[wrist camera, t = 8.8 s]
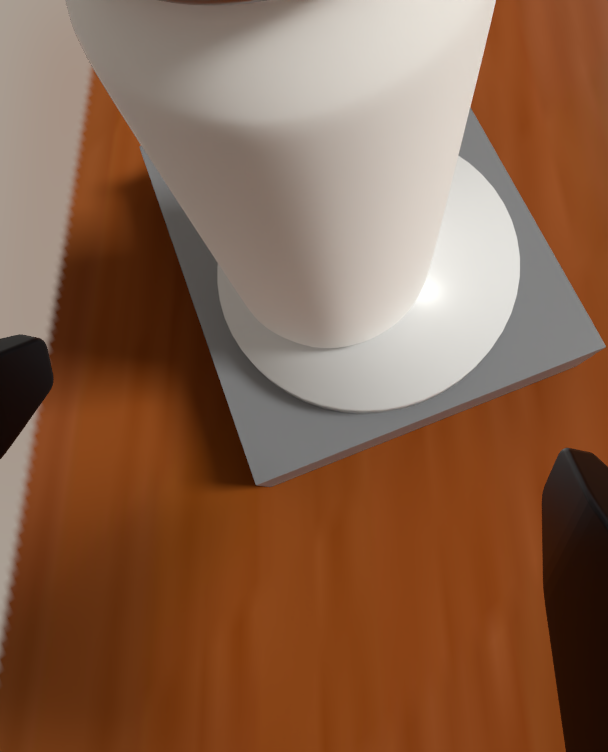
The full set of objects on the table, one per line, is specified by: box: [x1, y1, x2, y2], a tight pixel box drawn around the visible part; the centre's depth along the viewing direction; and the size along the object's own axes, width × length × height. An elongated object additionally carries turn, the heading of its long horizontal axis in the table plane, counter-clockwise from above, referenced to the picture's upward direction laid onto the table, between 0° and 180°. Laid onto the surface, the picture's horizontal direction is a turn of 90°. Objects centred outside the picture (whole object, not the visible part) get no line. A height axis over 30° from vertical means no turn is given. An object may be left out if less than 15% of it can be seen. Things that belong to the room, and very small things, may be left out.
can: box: [66, 0, 496, 348], centre depth 12 cm, size 6×6×12 cm
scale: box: [139, 108, 606, 487], centre depth 19 cm, size 14×12×3 cm
